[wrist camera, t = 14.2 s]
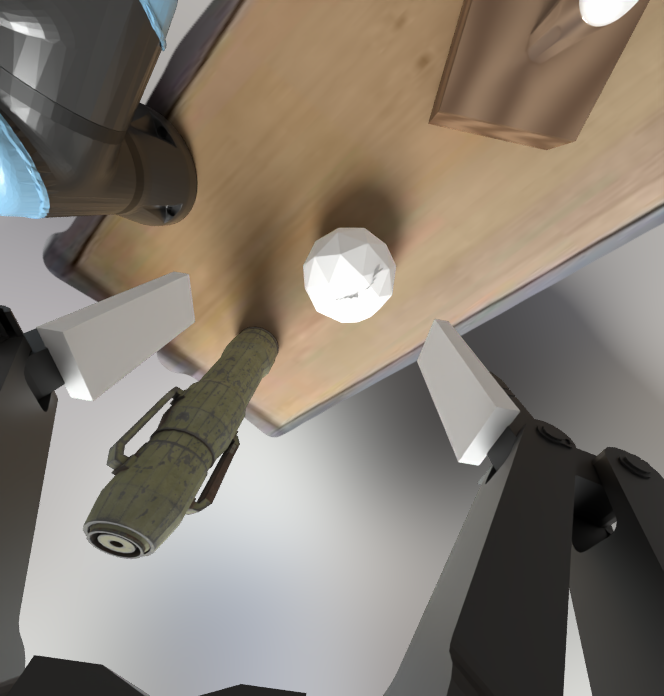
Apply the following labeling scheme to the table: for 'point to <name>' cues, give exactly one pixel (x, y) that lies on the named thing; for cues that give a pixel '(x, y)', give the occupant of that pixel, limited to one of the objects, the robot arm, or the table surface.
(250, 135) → the table surface
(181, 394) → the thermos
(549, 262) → the table surface
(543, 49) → the milkshake
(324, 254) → the geodesic sphere
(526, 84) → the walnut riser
